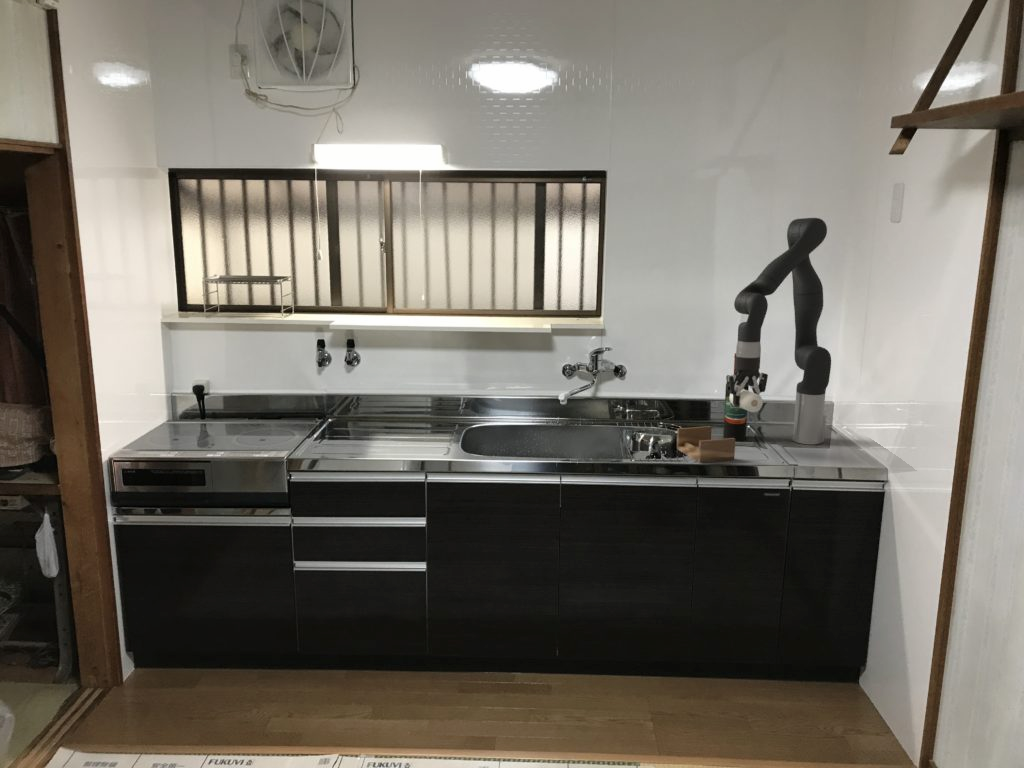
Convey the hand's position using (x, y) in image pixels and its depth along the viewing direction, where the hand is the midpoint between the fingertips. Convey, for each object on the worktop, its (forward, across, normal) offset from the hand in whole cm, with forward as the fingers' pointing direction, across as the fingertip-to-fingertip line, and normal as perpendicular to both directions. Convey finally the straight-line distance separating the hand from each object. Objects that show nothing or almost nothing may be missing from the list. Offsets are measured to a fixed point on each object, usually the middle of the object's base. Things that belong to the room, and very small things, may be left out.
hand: (745, 405), depth 246 cm
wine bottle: (+16, -5, -14) cm, 22 cm away
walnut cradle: (+15, +14, 0) cm, 21 cm away
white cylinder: (0, +2, 0) cm, 2 cm away
